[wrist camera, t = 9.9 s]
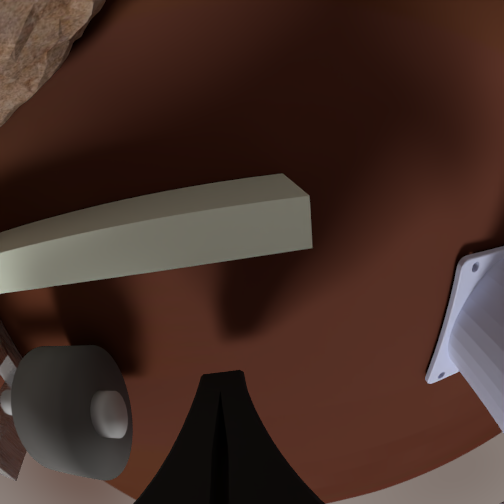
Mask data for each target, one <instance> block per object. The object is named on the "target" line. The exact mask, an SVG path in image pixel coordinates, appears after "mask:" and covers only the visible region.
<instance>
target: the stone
mask: <svg viewBox="0 0 504 504" xmlns="http://www.w3.org/2000/svg"><path fill="white" fill-rule="evenodd" d="M105 1H106V0H0V127H1V126H2V125H3V124H4V123H5V122H6V121H7V120H8V119H9V118H10V116H11V115H12V114H13V113H14V112H15V111H16V109H17V108H18V107H19V106H20V105H22V104H23V103H25V102H26V101H28V100H29V99H30V98H32V97H33V95H34V94H35V93H36V92H37V91H38V90H39V89H40V87H41V86H42V85H43V84H44V83H46V82H47V81H48V80H49V79H50V78H51V76H52V75H53V74H54V73H55V72H56V71H57V70H58V69H59V68H60V67H61V65H62V64H63V62H64V61H65V59H66V58H67V56H68V55H69V52H70V50H71V47H72V45H73V42H74V41H75V40H77V39H78V38H80V37H81V36H82V34H83V32H84V30H85V28H86V27H87V25H88V23H89V22H90V20H91V19H92V18H93V17H94V16H95V15H96V14H97V13H98V12H99V11H100V10H101V8H102V6H103V5H104V3H105Z"/></svg>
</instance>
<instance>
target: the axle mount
mask: <svg viewBox="0 0 504 504" xmlns="http://www.w3.org/2000/svg"><path fill="white" fill-rule="evenodd" d="M22 359H23V358H22V356H21V355H20V353H19V351H18V350H17V348H16V346H15V345H14V343H13V341H12V340H11V338H10V336H9V334H8V333H7V331H6V329H5V327H4V325H3V323H2V321H1V320H0V375H1V376H2V377H3V379H4V380H5V382H4V384H3V386H2V388H1V389H0V397H1V394H2V392H3V391H4V390H7V389H8V390H11V389H12V382H13V378H14V375H15V372H16V369H17V367H18V365H19V363H20V362H21V360H22ZM26 451H27V450H26V449H25V447H24V446H23V444H22V442H21V440H20V438H19V436H18V434H17V431H16V428H15V425H14V421H13V417H12V415H8V414H6V413H5V412H4V410H3V409H2V406H1V402H0V474H1V475H4V476H6V477H8V478H11V479H13V480H15V481H16V480H17V478H18V474H19V471H20V468H21V465H22V462H23V460H24V457H25V454H26Z"/></svg>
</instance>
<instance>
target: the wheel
mask: <svg viewBox="0 0 504 504" xmlns="http://www.w3.org/2000/svg"><path fill="white" fill-rule="evenodd" d="M0 402H1V406H2V409H3V410H4V412H5V413H6V414H8V415H12V417H13V421H14V425H15V428H16V431H17V434H18V436H19V438H20V440H21V442H22V444H23V446H24V447H25V449H26V450H27V452H28V453H29V454H30V455H31V456H32V457H33V458H34V459H35V460H36V461H37V462H38V463H39V464H41V465H42V466H44V467H46V468H49V469H52V470H55V471H59V472H64V473H68V474H73V475H77V476H82V477H87V478H93V479H99V480H111V479H114V478H116V477H117V476H118V475H120V473H121V472H122V471H123V470H124V468H125V466H126V464H127V462H128V459H129V455H130V451H131V445H132V413H131V406H130V400H129V396H128V392H127V388H126V385H125V382H124V379H123V376H122V374H121V372H120V370H119V368H118V366H117V364H116V362H115V361H114V359H113V358H112V357H111V355H110V354H109V353H108V352H107V351H106V350H104V349H103V348H101V347H99V346H96V345H79V346H41V347H37V348H35V349H33V350H31V351H30V352H28V353H27V354H26V355H25V356H24V357H23V359H22V360H21V362H20V363H19V365H18V367H17V369H16V372H15V375H14V378H13V382H12V389H11V390H8V389H7V390H4V391H3V392H2V394H1V397H0Z"/></svg>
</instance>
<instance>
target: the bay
mask: <svg viewBox="0 0 504 504" xmlns="http://www.w3.org/2000/svg"><path fill="white" fill-rule="evenodd" d="M310 248H312V228H311V210H310V196H309V195H308V194H307V193H306V192H305V191H303V190H302V189H301V188H300V187H299V186H297V185H296V184H295V183H294V182H292V181H291V180H290V179H289V178H288V177H286V176H285V175H284V174H283V173H281V174H273V175H265V176H257V177H250V178H242V179H235V180H229V181H222V182H216V183H209V184H203V185H197V186H191V187H186V188H180V189H174V190H169V191H164V192H158V193H153V194H148V195H143V196H139V197H134V198H129V199H124V200H120V201H115V202H111V203H107V204H102V205H98V206H94V207H90V208H85V209H81V210H77V211H74V212H70V213H66V214H62V215H58V216H55V217H51V218H47V219H44V220H40V221H37V222H33V223H30V224H26V225H23V226H20V227H16V228H13V229H10V230H7V231H4V232H0V294H1V293H8V292H16V291H23V290H30V289H37V288H44V287H51V286H59V285H66V284H73V283H80V282H87V281H94V280H101V279H108V278H115V277H122V276H128V275H135V274H142V273H149V272H156V271H163V270H170V269H176V268H183V267H190V266H197V265H203V264H210V263H217V262H224V261H230V260H237V259H244V258H250V257H257V256H263V255H270V254H277V253H283V252H290V251H296V250H303V249H310Z"/></svg>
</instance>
